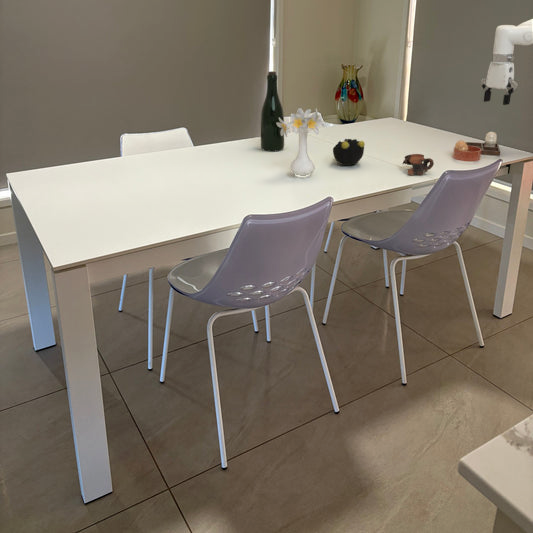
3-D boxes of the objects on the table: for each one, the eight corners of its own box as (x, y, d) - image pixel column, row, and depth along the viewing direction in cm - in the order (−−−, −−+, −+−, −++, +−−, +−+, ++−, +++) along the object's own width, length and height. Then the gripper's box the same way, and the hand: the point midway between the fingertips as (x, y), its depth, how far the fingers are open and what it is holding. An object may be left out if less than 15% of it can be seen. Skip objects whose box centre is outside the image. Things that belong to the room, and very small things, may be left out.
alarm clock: (360, 169, 244) (376, 139, 235) (344, 179, 233) (360, 148, 224) (337, 154, 247) (352, 123, 238) (320, 163, 236) (336, 131, 227)
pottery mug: (400, 176, 224) (399, 154, 225) (407, 181, 233) (406, 160, 233) (431, 171, 218) (430, 150, 219) (438, 177, 227) (437, 156, 227)
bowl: (479, 156, 247) (481, 146, 245) (480, 163, 237) (482, 152, 235) (452, 155, 249) (453, 144, 248) (452, 162, 240) (453, 151, 238)
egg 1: (471, 153, 244) (463, 136, 241) (471, 157, 240) (464, 141, 237) (460, 157, 246) (453, 141, 243) (460, 161, 242) (453, 145, 239)
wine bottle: (259, 151, 258) (258, 73, 243) (261, 146, 267) (260, 70, 253) (283, 152, 257) (284, 73, 243) (284, 146, 266) (284, 69, 252)
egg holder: (497, 149, 258) (498, 143, 257) (499, 157, 246) (500, 151, 245) (464, 147, 261) (465, 141, 260) (464, 155, 249) (465, 149, 248)
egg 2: (494, 148, 257) (497, 130, 253) (495, 151, 253) (498, 133, 249) (483, 148, 258) (486, 130, 254) (483, 150, 254) (486, 132, 250)
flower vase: (271, 177, 223) (271, 110, 212) (308, 168, 233) (310, 104, 222) (293, 185, 214) (294, 115, 203) (331, 175, 224) (333, 109, 213)
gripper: (527, 59, 228) (520, 104, 235) (491, 56, 242) (485, 99, 249) (513, 61, 225) (507, 107, 232) (478, 57, 238) (473, 101, 246)
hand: (496, 102), depth 240 cm, fingers open, 9 cm apart
